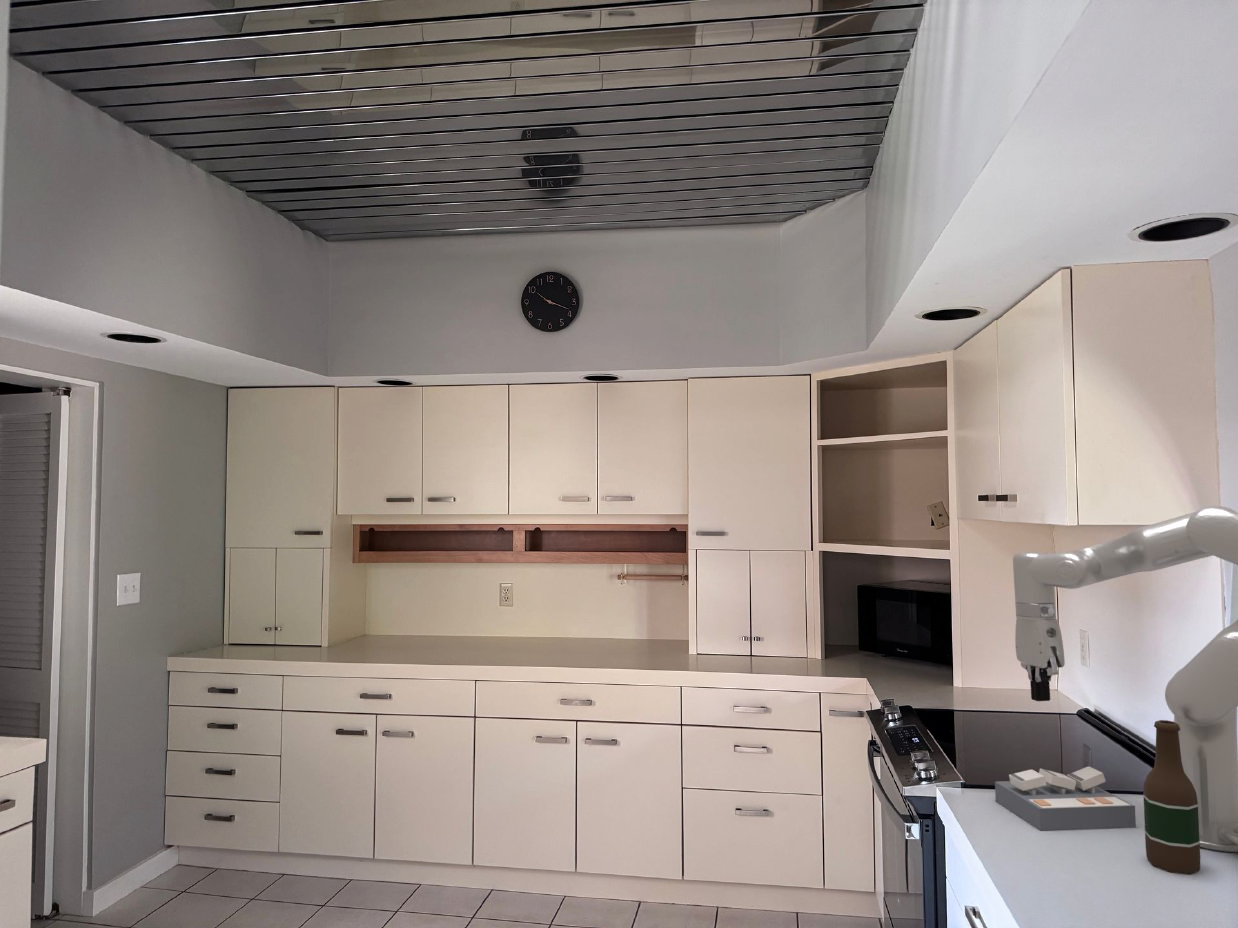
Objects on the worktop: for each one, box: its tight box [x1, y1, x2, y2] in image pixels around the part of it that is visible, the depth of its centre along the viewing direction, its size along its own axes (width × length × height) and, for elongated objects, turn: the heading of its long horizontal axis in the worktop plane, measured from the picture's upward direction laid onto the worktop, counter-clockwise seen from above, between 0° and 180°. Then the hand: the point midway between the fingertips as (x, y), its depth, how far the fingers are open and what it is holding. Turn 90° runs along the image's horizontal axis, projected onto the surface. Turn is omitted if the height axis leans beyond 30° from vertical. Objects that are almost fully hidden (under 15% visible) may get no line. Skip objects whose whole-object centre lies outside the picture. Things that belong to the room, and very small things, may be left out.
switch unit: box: [994, 780, 1137, 831], centre depth 164 cm, size 16×19×5 cm
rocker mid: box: [1038, 768, 1076, 790], centre depth 165 cm, size 4×5×2 cm
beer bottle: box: [1143, 719, 1201, 875], centre depth 140 cm, size 8×8×24 cm
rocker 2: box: [1066, 766, 1106, 790], centre depth 166 cm, size 4×5×2 cm
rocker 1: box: [1008, 769, 1046, 791], centre depth 165 cm, size 4×5×2 cm
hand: (1040, 699), depth 170 cm, fingers closed
